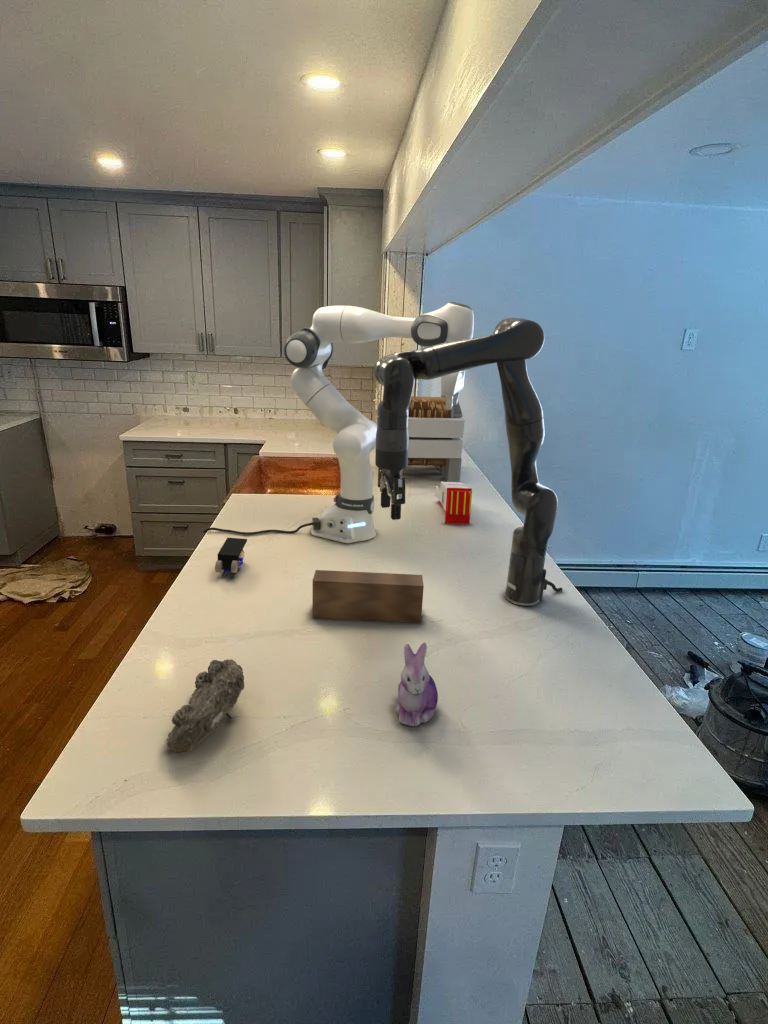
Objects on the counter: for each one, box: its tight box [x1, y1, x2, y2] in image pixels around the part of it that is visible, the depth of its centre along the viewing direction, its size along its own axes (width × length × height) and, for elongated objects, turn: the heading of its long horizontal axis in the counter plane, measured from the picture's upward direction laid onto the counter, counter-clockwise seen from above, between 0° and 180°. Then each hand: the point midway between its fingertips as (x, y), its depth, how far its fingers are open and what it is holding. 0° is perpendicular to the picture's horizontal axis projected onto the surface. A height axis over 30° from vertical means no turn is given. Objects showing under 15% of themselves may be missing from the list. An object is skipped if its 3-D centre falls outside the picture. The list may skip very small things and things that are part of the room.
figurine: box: [395, 642, 439, 727], centre depth 109 cm, size 9×10×15 cm
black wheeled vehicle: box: [214, 537, 248, 578], centre depth 166 cm, size 7×8×15 cm
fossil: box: [166, 658, 245, 754], centre depth 106 cm, size 22×10×15 cm
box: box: [312, 569, 425, 624], centre depth 145 cm, size 28×6×10 cm, turn 89°
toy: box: [434, 481, 473, 525], centre depth 222 cm, size 12×13×30 cm
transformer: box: [400, 392, 465, 482], centre depth 268 cm, size 34×33×41 cm
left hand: (451, 407), depth 174 cm, fingers open, 8 cm apart
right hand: (390, 512), depth 135 cm, fingers open, 8 cm apart
